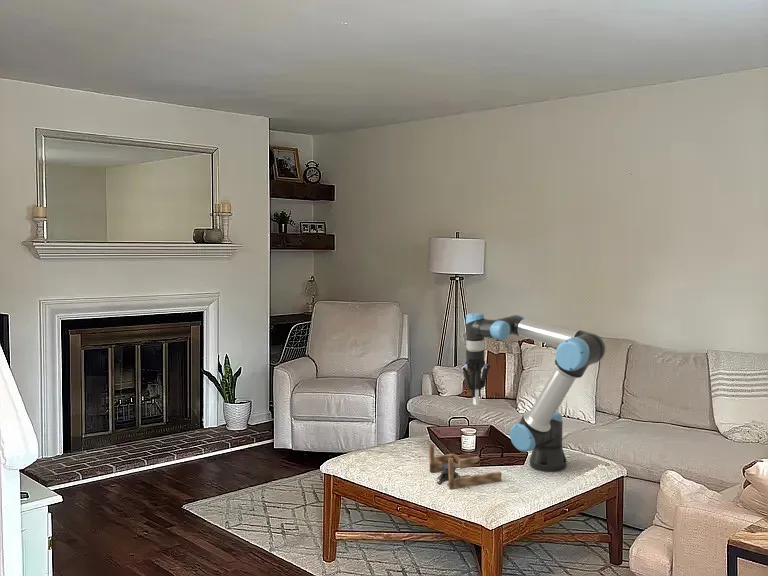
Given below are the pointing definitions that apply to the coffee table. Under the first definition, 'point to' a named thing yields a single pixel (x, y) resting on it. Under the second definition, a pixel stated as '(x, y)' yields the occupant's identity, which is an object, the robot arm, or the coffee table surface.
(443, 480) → the stuffed animal
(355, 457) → the coffee table surface
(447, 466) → the mat
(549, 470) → the robot arm
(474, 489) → the coffee table surface
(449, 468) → the wooden rail pieces
